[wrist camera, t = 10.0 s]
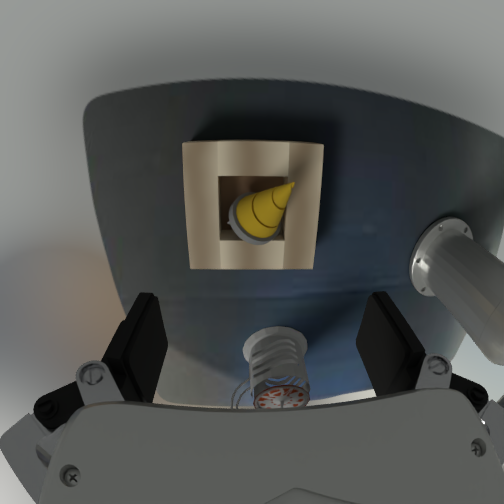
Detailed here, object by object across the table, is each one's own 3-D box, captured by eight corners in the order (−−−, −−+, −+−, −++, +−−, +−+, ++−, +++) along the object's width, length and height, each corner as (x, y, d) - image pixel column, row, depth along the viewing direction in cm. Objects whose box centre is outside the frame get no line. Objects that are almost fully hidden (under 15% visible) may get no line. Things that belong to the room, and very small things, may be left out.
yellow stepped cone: (216, 206, 29) (260, 149, 21) (259, 211, 32) (312, 163, 24) (220, 253, 28) (270, 207, 19) (266, 255, 30) (326, 216, 22)
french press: (314, 359, 41) (347, 505, 18) (246, 379, 43) (249, 521, 20) (297, 317, 37) (337, 496, 14) (220, 341, 38) (209, 511, 16)
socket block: (314, 142, 27) (323, 144, 24) (305, 253, 33) (312, 268, 29) (190, 141, 27) (182, 143, 23) (196, 253, 32) (190, 268, 29)
